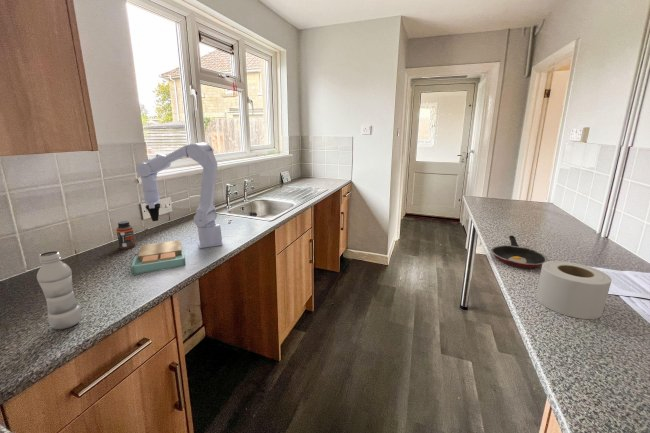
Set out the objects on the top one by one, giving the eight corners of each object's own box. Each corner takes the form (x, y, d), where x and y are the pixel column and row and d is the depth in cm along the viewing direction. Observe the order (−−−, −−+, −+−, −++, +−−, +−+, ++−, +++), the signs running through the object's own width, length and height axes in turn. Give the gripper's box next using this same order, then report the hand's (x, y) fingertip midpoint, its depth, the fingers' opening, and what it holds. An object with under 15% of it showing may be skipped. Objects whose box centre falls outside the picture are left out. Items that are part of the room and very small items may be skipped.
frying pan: (491, 266, 114) (492, 257, 113) (487, 239, 142) (488, 232, 141) (551, 276, 106) (553, 266, 105) (534, 246, 134) (536, 238, 133)
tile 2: (175, 256, 120) (175, 251, 120) (175, 261, 116) (175, 256, 115) (161, 258, 118) (160, 254, 118) (161, 263, 114) (160, 258, 113)
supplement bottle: (128, 249, 128) (123, 224, 125) (116, 248, 130) (111, 223, 126) (139, 245, 134) (134, 220, 131) (127, 243, 135) (123, 219, 132)
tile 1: (159, 259, 118) (158, 254, 117) (158, 264, 113) (157, 259, 113) (144, 261, 116) (143, 256, 115) (142, 266, 111) (141, 261, 111)
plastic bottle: (63, 318, 81) (44, 249, 76) (89, 317, 82) (73, 248, 77) (43, 333, 75) (22, 259, 70) (72, 332, 76) (53, 258, 70)
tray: (184, 255, 122) (183, 248, 122) (185, 265, 113) (184, 258, 113) (135, 263, 115) (134, 256, 114) (132, 274, 106) (131, 266, 105)
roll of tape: (528, 287, 98) (535, 257, 95) (586, 295, 94) (594, 263, 91) (545, 314, 84) (554, 279, 81) (614, 324, 79) (625, 287, 77)
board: (181, 245, 134) (180, 239, 133) (181, 255, 122) (181, 250, 122) (142, 250, 127) (141, 245, 127) (139, 262, 116) (138, 256, 115)
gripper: (141, 188, 135) (146, 217, 139) (138, 194, 122) (143, 226, 126) (159, 187, 138) (163, 215, 142) (158, 192, 125) (162, 224, 129)
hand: (155, 220), depth 134 cm, fingers closed
